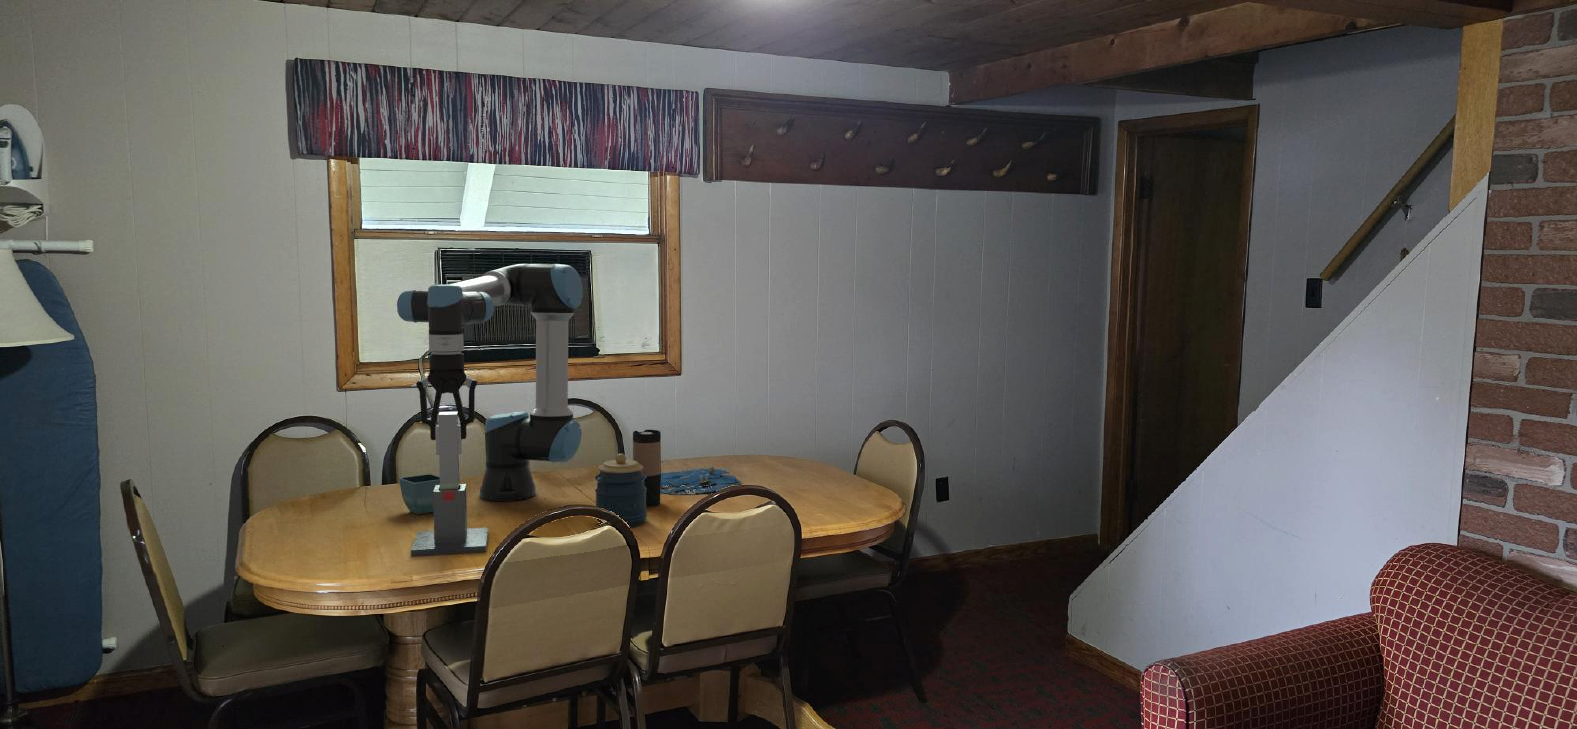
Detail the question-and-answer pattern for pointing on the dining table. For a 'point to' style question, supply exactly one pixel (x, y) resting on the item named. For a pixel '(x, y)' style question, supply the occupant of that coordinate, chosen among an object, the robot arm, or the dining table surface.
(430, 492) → the flower pot
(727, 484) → the ocean terrain model
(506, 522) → the dining table surface
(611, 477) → the canister
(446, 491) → the jack stand base
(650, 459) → the travel mug
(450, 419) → the stand post
